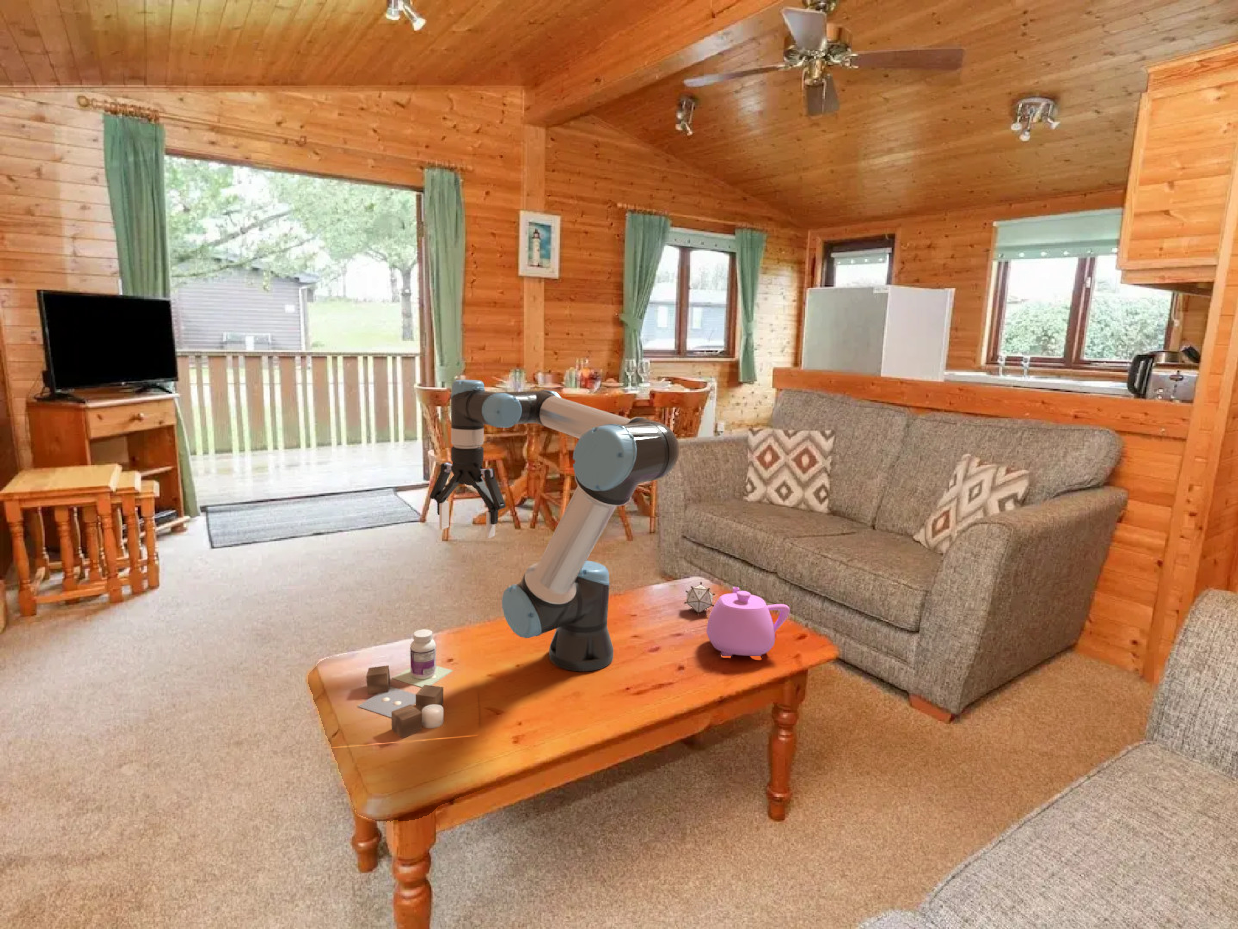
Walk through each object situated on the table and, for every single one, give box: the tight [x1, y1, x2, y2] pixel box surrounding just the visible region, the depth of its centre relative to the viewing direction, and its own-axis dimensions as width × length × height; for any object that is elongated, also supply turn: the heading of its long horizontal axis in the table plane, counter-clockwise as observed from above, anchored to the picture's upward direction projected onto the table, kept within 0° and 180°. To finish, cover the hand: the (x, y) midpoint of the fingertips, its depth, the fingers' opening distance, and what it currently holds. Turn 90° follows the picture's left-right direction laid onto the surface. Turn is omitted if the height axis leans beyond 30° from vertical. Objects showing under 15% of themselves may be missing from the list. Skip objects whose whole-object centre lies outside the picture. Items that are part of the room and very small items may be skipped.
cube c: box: [365, 665, 391, 695], centre depth 144 cm, size 4×4×4 cm
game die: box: [683, 581, 716, 613], centre depth 193 cm, size 9×8×10 cm
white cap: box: [422, 704, 444, 729], centre depth 132 cm, size 4×4×3 cm
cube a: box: [415, 685, 444, 712], centre depth 137 cm, size 4×4×4 cm
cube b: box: [391, 704, 423, 739], centre depth 129 cm, size 4×4×4 cm
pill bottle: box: [409, 628, 437, 679], centre depth 150 cm, size 5×5×10 cm
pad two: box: [357, 685, 417, 719], centre depth 139 cm, size 9×9×1 cm
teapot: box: [706, 586, 791, 657], centre depth 171 cm, size 20×20×15 cm
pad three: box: [392, 665, 454, 689], centre depth 151 cm, size 9×9×1 cm
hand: (467, 532), depth 166 cm, fingers open, 13 cm apart
